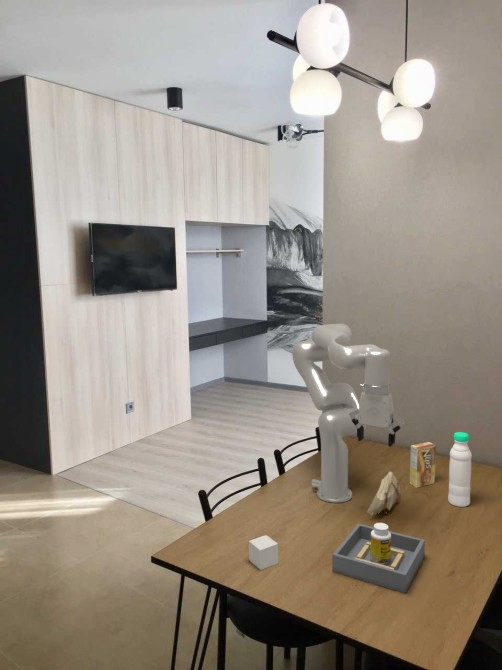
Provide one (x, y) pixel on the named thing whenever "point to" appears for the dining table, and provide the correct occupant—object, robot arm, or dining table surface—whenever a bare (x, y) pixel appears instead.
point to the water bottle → (460, 471)
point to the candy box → (422, 464)
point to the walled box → (358, 564)
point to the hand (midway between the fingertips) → (375, 442)
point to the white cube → (263, 552)
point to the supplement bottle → (380, 544)
